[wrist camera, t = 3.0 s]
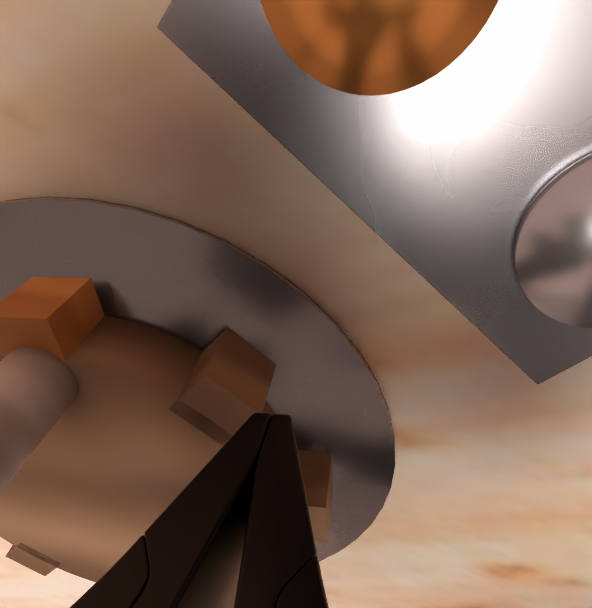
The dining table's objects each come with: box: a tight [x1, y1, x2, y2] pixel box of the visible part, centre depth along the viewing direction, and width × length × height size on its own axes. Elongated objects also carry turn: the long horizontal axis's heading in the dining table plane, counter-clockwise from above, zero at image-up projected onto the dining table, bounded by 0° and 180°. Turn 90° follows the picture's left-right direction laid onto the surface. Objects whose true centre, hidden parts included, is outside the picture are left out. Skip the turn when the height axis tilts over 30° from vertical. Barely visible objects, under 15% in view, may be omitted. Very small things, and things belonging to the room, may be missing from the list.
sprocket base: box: [0, 197, 395, 561], centre depth 17 cm, size 19×19×1 cm
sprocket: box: [0, 277, 333, 582], centre depth 14 cm, size 15×15×5 cm
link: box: [157, 0, 592, 384], centre depth 7 cm, size 7×4×5 cm, turn 49°
